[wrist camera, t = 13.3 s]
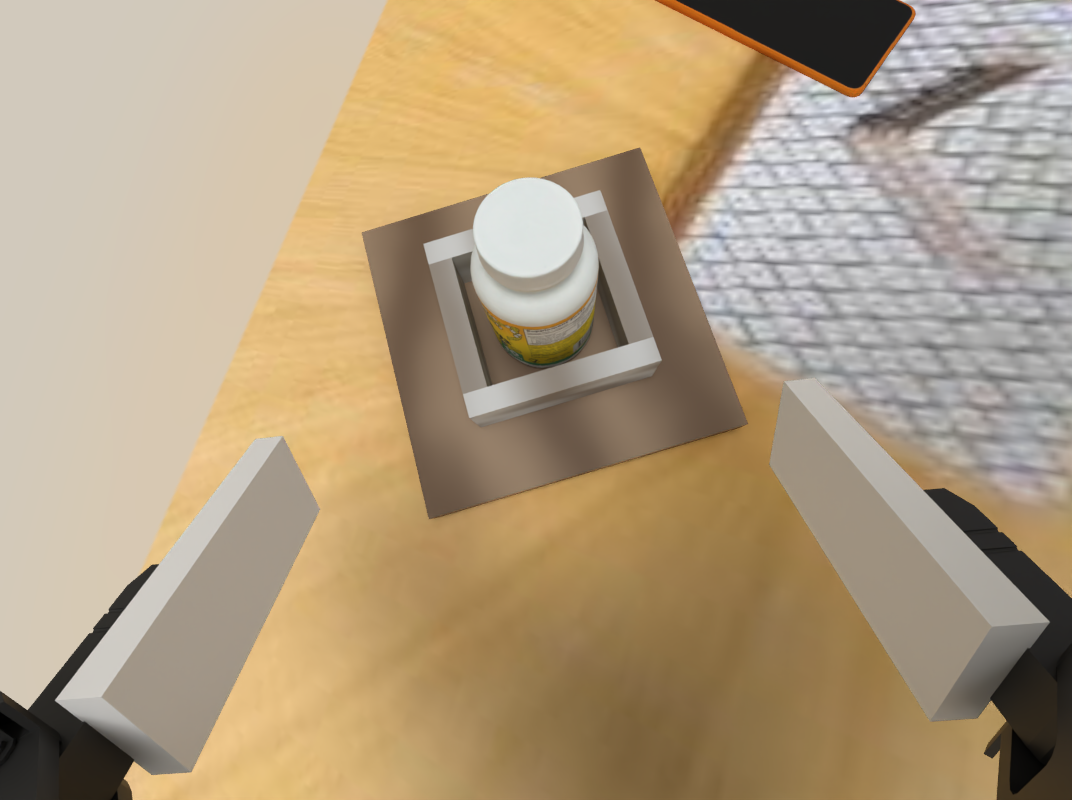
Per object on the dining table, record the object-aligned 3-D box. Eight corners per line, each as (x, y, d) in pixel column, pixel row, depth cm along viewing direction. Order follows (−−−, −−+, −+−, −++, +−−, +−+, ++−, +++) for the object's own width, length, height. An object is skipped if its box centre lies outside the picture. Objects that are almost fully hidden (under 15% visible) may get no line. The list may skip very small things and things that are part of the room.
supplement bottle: (604, 354, 26) (622, 273, 17) (508, 381, 26) (473, 315, 17) (576, 265, 27) (579, 142, 18) (484, 291, 27) (439, 183, 18)
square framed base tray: (637, 161, 30) (647, 107, 26) (740, 427, 26) (771, 413, 22) (369, 243, 30) (337, 202, 26) (435, 518, 26) (410, 521, 22)
